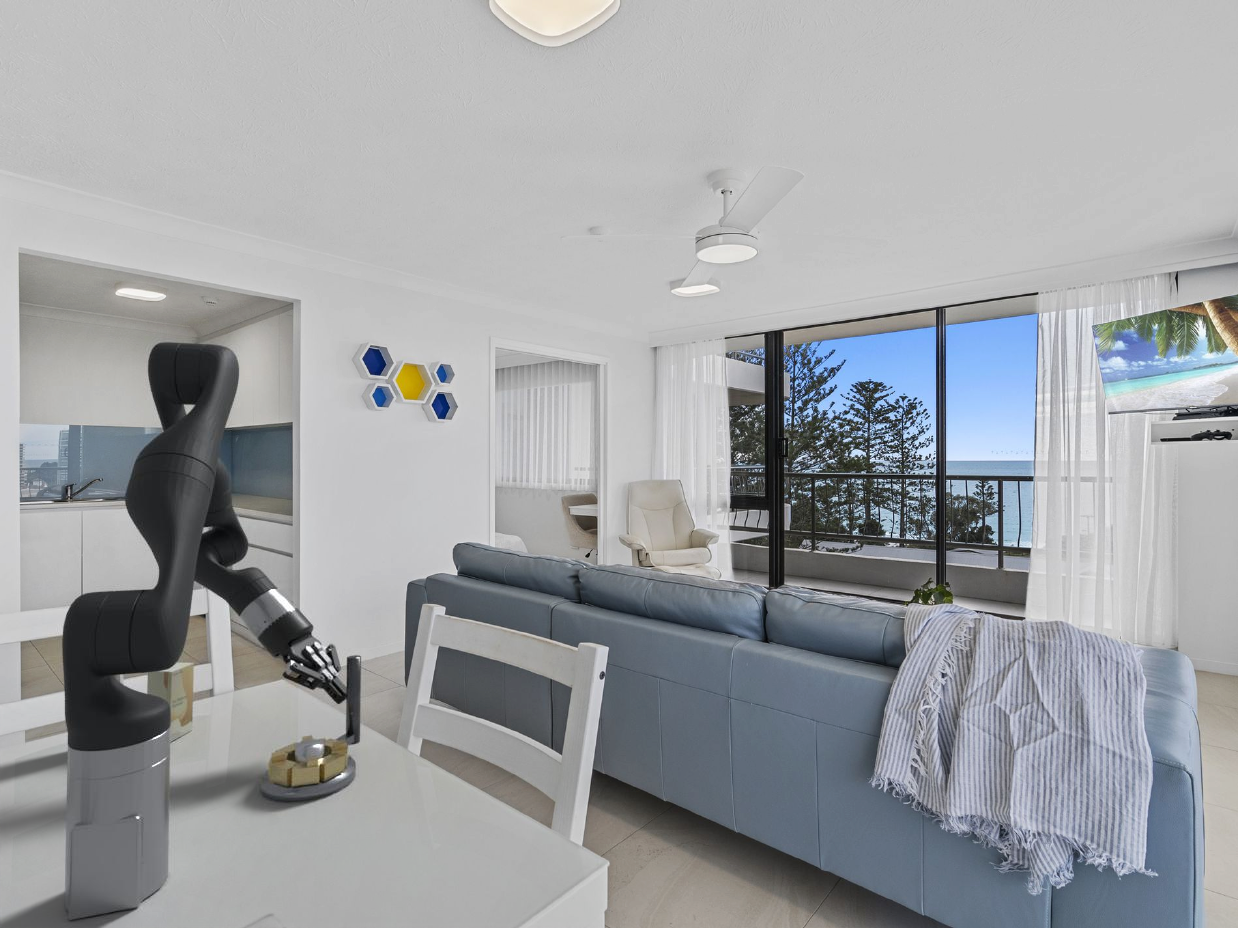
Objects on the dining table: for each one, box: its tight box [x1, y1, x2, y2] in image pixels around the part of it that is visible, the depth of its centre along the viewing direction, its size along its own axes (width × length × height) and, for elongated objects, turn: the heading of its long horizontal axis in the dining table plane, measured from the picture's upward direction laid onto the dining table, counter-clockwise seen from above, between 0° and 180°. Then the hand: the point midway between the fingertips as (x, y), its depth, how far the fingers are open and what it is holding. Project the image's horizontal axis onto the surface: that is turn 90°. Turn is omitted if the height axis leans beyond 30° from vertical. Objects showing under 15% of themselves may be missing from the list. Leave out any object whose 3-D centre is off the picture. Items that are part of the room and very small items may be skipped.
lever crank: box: [267, 654, 362, 787], centre depth 103 cm, size 16×11×14 cm, turn 154°
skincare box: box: [146, 662, 195, 743], centre depth 117 cm, size 6×4×12 cm
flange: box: [260, 738, 357, 804], centre depth 100 cm, size 13×13×6 cm
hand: (345, 699), depth 110 cm, fingers closed
